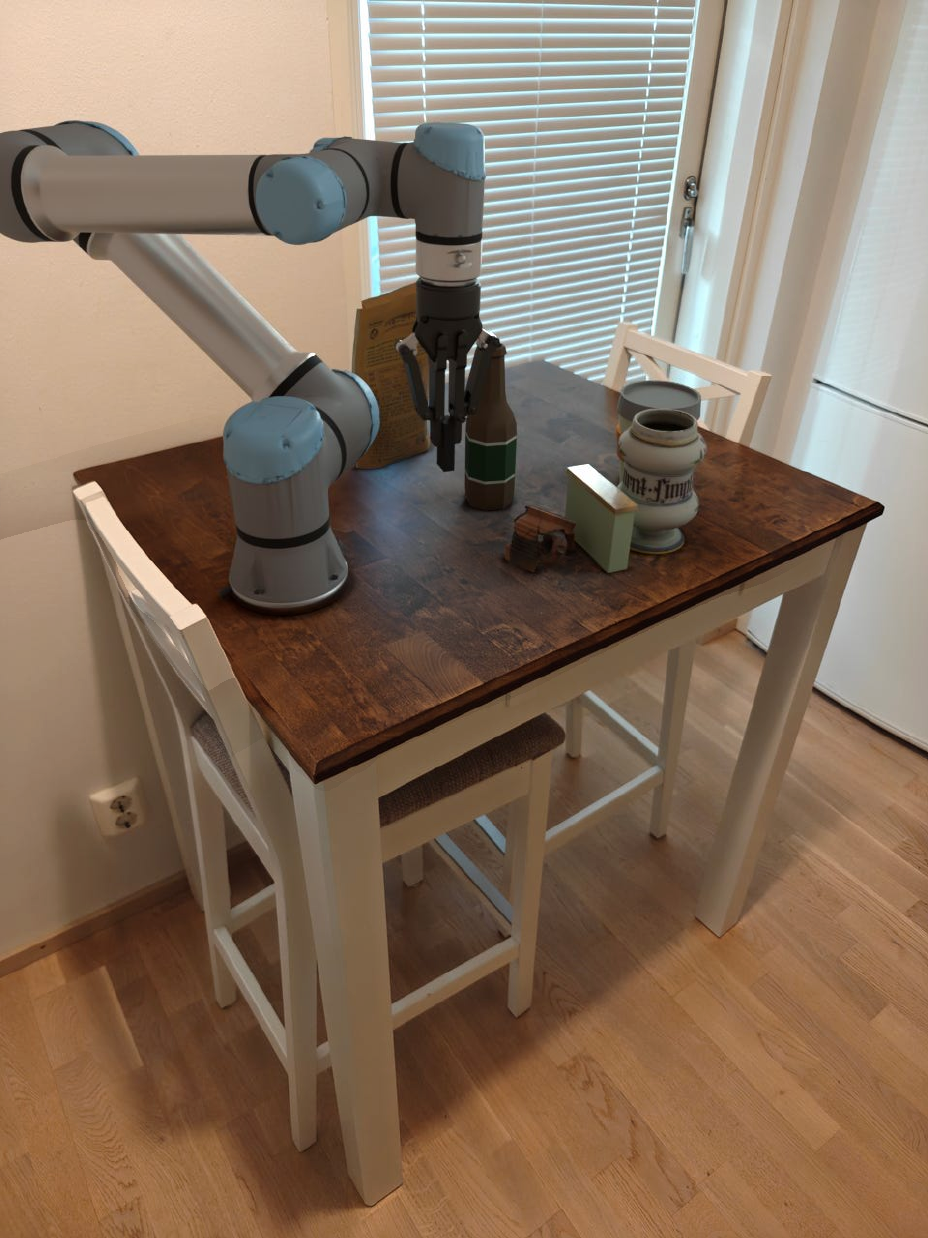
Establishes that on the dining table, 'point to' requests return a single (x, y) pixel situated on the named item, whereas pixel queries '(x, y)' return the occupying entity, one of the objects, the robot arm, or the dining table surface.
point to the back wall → (600, 517)
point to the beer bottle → (491, 443)
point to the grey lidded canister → (653, 403)
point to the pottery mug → (526, 542)
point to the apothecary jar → (661, 476)
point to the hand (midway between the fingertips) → (445, 466)
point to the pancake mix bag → (390, 376)
